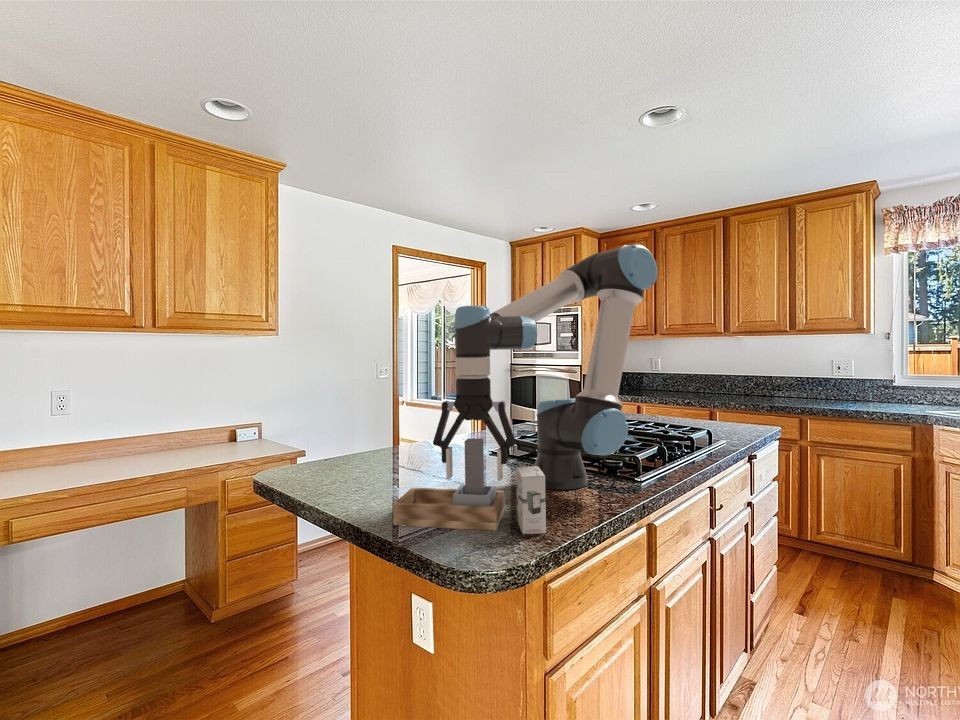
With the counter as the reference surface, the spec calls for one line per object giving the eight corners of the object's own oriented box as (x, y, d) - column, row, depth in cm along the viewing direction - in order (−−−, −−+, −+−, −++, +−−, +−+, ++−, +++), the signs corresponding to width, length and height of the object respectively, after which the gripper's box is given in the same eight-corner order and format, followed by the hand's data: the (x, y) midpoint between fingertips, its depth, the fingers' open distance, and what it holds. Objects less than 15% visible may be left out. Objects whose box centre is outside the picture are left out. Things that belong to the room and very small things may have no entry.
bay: (504, 510, 115) (504, 490, 115) (496, 530, 102) (496, 508, 102) (412, 506, 119) (412, 487, 119) (393, 525, 106) (393, 504, 106)
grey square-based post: (495, 505, 113) (494, 437, 113) (490, 517, 105) (489, 443, 105) (461, 503, 114) (459, 436, 114) (453, 515, 107) (451, 443, 106)
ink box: (515, 520, 108) (514, 465, 108) (538, 519, 109) (537, 465, 109) (522, 534, 100) (521, 475, 100) (546, 533, 100) (546, 474, 100)
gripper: (527, 375, 111) (528, 475, 111) (426, 376, 115) (428, 472, 115) (524, 377, 104) (526, 484, 104) (416, 378, 108) (418, 481, 108)
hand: (474, 478), depth 110 cm, fingers open, 10 cm apart
